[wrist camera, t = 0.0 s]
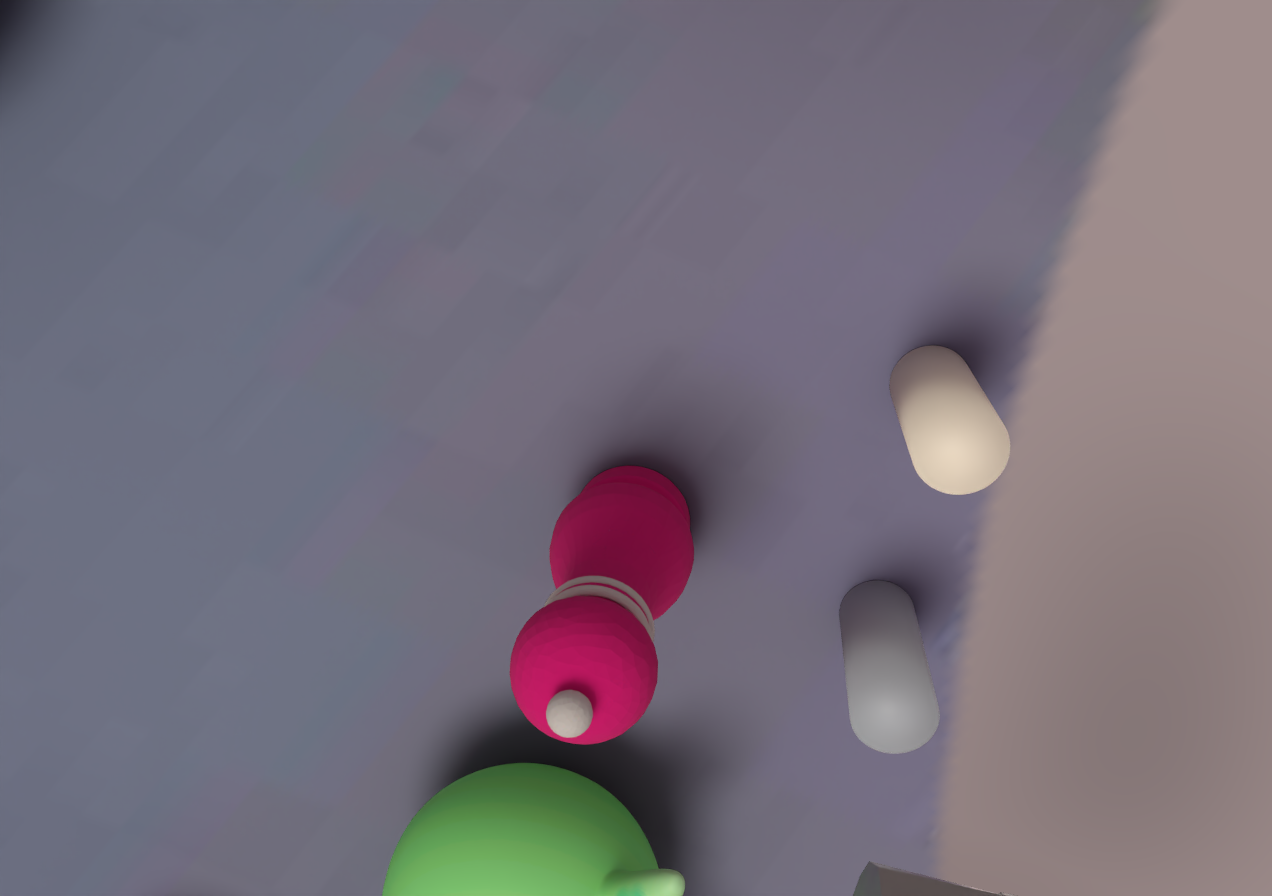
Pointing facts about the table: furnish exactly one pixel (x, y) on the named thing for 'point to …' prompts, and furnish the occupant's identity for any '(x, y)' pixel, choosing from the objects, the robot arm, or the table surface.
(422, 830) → the toy bird
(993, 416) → the cream post
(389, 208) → the table surface
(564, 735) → the pepper mill
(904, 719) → the slate post
